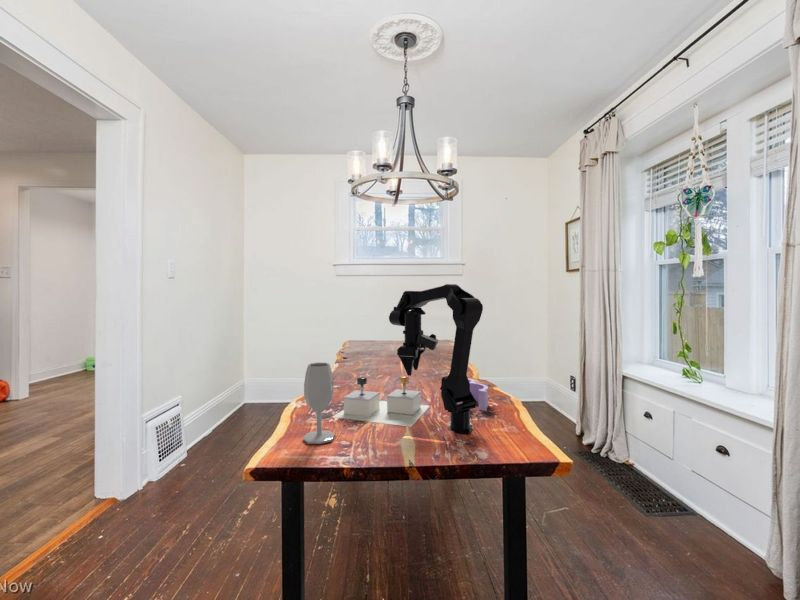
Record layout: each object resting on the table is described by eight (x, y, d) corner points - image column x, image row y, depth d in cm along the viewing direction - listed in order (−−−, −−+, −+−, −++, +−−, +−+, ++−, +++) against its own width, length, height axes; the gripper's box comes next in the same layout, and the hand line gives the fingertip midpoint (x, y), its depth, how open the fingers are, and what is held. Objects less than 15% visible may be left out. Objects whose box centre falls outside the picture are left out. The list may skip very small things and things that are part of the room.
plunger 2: (411, 401, 126) (411, 380, 125) (390, 399, 128) (390, 378, 128) (417, 396, 132) (417, 375, 132) (397, 394, 135) (397, 374, 135)
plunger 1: (367, 403, 124) (367, 381, 124) (347, 401, 127) (347, 379, 126) (376, 397, 131) (375, 376, 131) (357, 395, 133) (356, 375, 133)
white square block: (368, 417, 123) (368, 399, 123) (343, 414, 126) (343, 397, 126) (381, 407, 133) (380, 391, 133) (357, 405, 136) (357, 389, 136)
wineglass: (303, 446, 102) (302, 368, 101) (302, 434, 110) (302, 362, 110) (336, 443, 104) (336, 366, 103) (333, 431, 112) (333, 360, 112)
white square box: (412, 415, 125) (412, 398, 124) (387, 413, 128) (387, 395, 127) (421, 406, 134) (421, 390, 134) (397, 404, 137) (397, 388, 137)
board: (411, 428, 115) (411, 426, 115) (331, 418, 124) (331, 416, 124) (430, 407, 136) (430, 405, 136) (360, 400, 145) (360, 398, 145)
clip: (446, 396, 151) (446, 378, 150) (477, 395, 152) (477, 378, 152) (458, 412, 131) (458, 392, 131) (493, 411, 132) (493, 391, 132)
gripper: (430, 331, 120) (430, 380, 120) (440, 325, 138) (440, 368, 138) (396, 329, 123) (396, 378, 123) (410, 324, 141) (410, 366, 141)
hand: (412, 372), depth 131 cm, fingers open, 9 cm apart
